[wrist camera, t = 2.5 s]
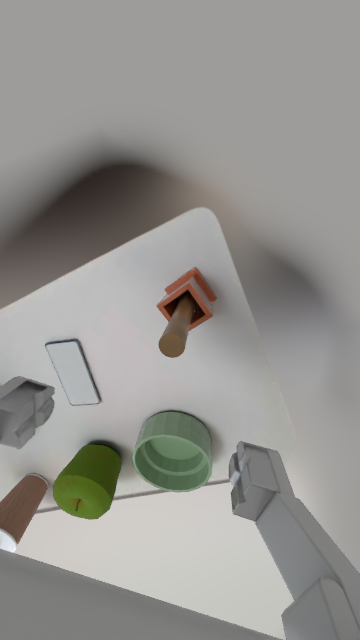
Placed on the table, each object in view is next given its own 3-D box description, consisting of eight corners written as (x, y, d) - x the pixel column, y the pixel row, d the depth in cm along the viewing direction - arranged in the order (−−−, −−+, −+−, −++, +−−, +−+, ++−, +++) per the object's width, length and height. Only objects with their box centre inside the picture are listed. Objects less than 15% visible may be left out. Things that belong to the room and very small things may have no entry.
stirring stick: (199, 295, 32) (190, 349, 15) (188, 302, 32) (169, 362, 16) (191, 285, 31) (174, 329, 15) (181, 292, 32) (153, 342, 15)
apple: (108, 428, 45) (78, 483, 35) (138, 464, 48) (118, 525, 38) (69, 443, 49) (30, 497, 38) (98, 476, 52) (70, 534, 41)
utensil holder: (216, 298, 32) (220, 317, 23) (186, 317, 34) (179, 342, 25) (195, 266, 31) (190, 274, 22) (165, 288, 33) (149, 304, 24)
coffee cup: (26, 491, 58) (-17, 549, 47) (14, 467, 55) (-35, 523, 44) (58, 496, 57) (22, 556, 46) (48, 470, 54) (7, 530, 42)
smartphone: (75, 339, 38) (100, 404, 42) (77, 338, 38) (101, 402, 43) (43, 343, 39) (70, 405, 43) (45, 342, 39) (72, 403, 44)
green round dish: (225, 448, 43) (227, 478, 37) (169, 470, 47) (164, 499, 42) (183, 398, 40) (179, 423, 34) (127, 426, 44) (116, 452, 39)
